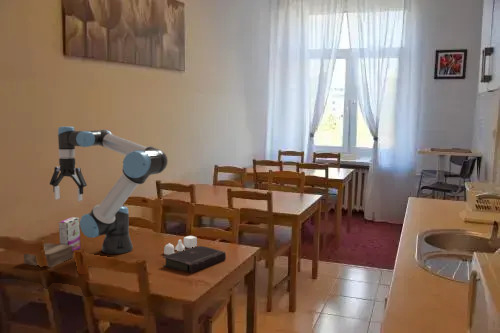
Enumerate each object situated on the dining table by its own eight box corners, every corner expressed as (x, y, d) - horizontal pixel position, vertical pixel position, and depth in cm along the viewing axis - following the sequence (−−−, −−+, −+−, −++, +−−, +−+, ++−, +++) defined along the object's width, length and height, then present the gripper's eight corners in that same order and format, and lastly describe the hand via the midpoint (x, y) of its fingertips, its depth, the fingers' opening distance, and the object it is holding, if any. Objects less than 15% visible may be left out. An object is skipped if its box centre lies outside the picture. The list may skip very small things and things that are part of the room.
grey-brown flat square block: (72, 258, 230) (72, 245, 229) (51, 267, 216) (50, 254, 215) (47, 254, 234) (46, 243, 234) (24, 263, 220) (23, 251, 220)
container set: (190, 245, 255) (190, 235, 254) (197, 247, 252) (197, 237, 251) (161, 253, 239) (161, 243, 239) (168, 255, 236) (168, 245, 235)
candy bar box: (72, 247, 247) (71, 217, 245) (80, 248, 246) (79, 217, 244) (59, 254, 236) (58, 221, 234) (68, 254, 235) (67, 222, 233)
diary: (226, 261, 230) (226, 251, 229) (191, 275, 209) (191, 264, 209) (196, 254, 240) (196, 244, 239) (161, 266, 220) (161, 256, 219)
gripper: (93, 157, 235) (94, 200, 238) (51, 156, 243) (53, 197, 245) (83, 159, 228) (84, 202, 231) (41, 157, 236) (42, 199, 238)
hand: (68, 199), depth 238 cm, fingers open, 13 cm apart
